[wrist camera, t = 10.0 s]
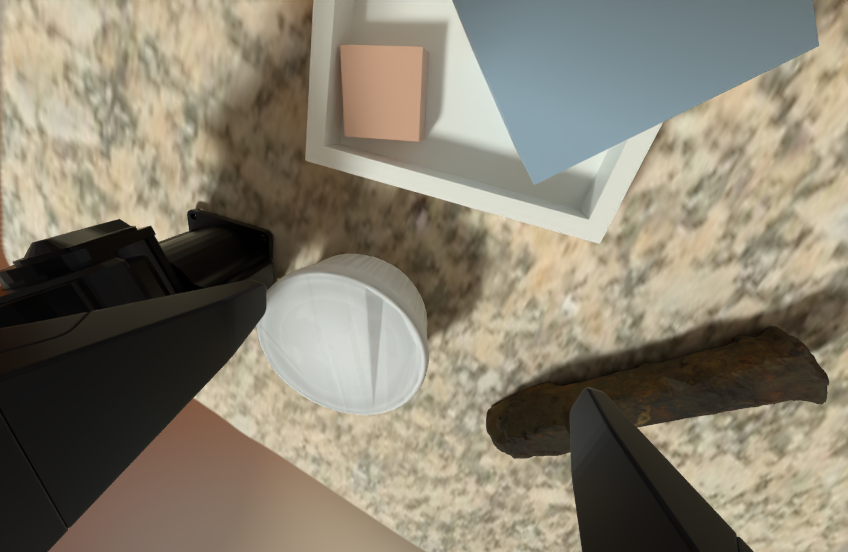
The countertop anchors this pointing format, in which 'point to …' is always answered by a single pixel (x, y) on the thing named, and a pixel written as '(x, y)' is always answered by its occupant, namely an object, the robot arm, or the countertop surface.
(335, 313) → the ramekin
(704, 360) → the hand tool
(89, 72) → the countertop surface
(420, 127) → the terracotta tile
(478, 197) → the tray
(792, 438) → the countertop surface
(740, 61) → the blue block
